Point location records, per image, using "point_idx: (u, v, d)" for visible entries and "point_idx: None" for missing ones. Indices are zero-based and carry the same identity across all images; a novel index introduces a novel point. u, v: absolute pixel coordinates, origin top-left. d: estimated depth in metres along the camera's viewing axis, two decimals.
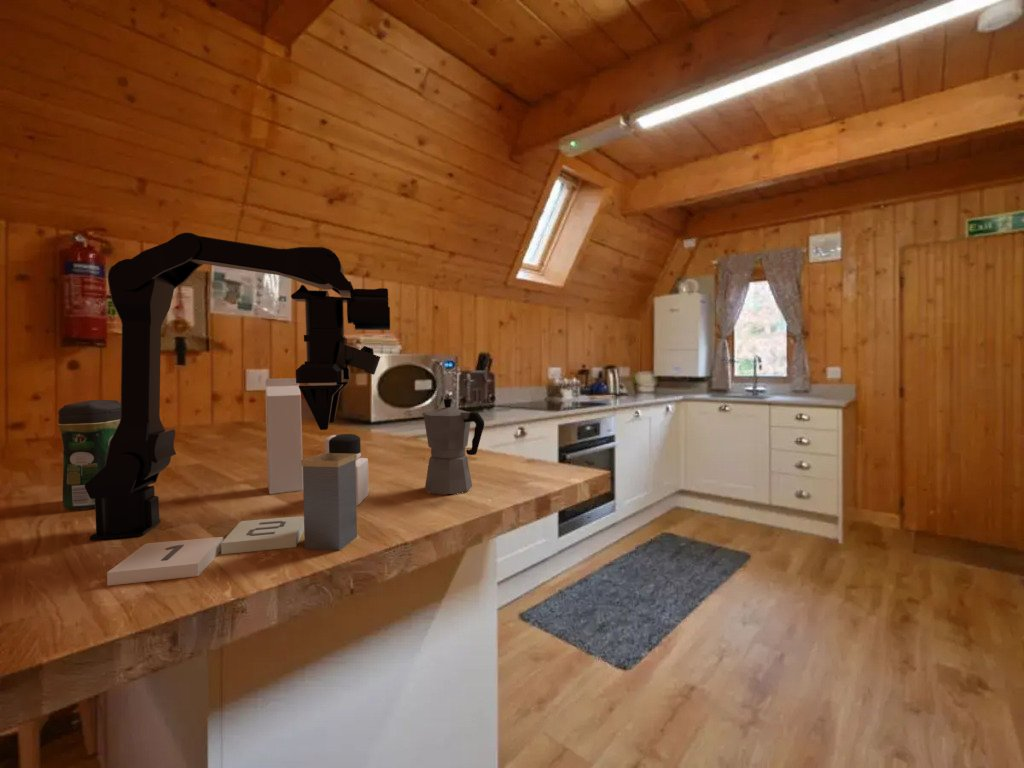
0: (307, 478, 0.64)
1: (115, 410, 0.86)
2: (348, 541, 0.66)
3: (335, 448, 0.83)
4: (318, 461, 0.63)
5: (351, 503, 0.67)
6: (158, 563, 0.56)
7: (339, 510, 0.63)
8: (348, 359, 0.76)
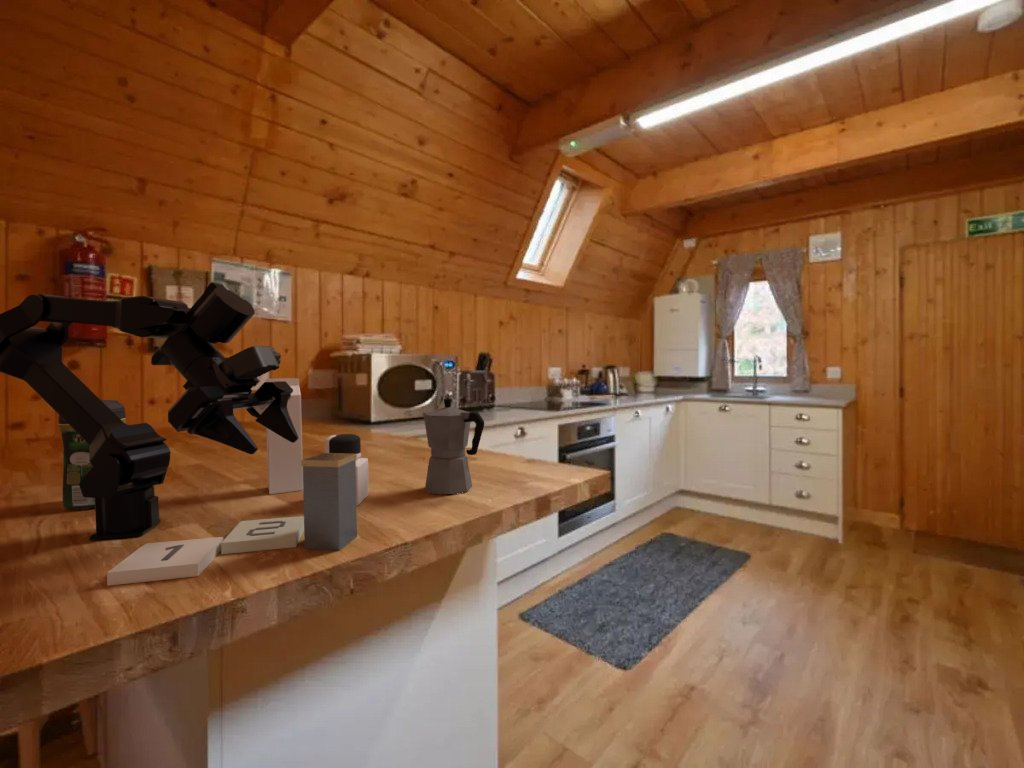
0: (307, 478, 0.64)
1: (115, 410, 0.86)
2: (348, 541, 0.66)
3: (335, 448, 0.83)
4: (318, 461, 0.63)
5: (351, 503, 0.67)
6: (158, 563, 0.56)
7: (339, 510, 0.63)
8: (229, 373, 0.65)
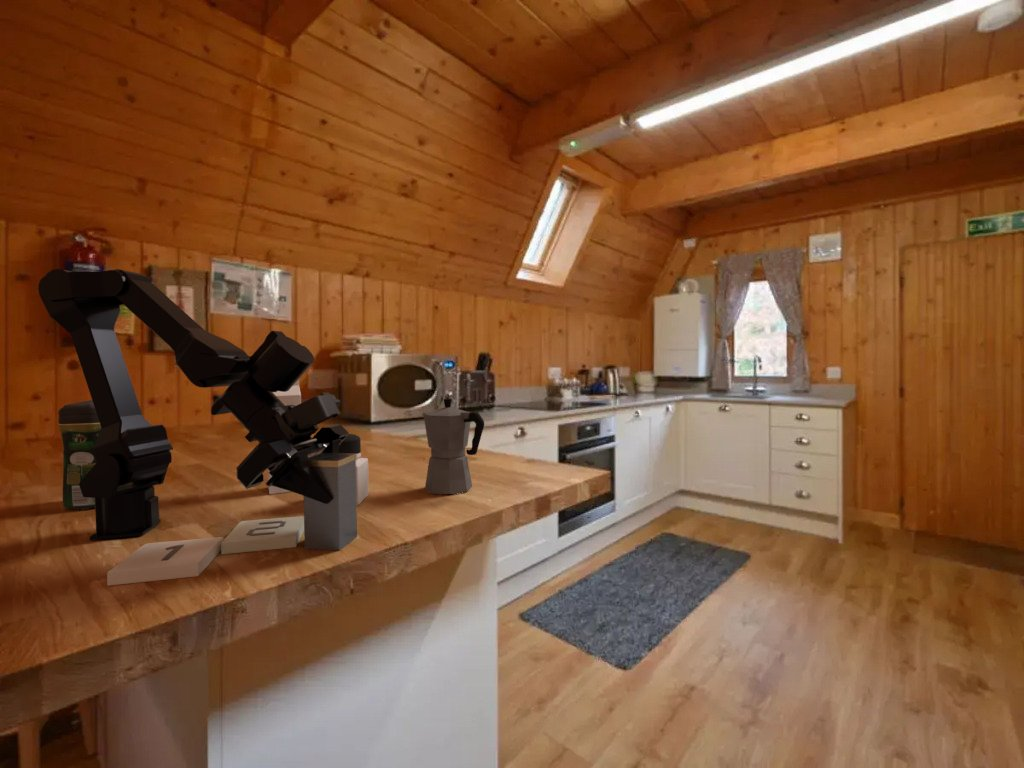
0: None
1: None
2: (348, 541, 0.66)
3: None
4: (318, 461, 0.63)
5: (351, 503, 0.67)
6: (158, 563, 0.56)
7: (339, 510, 0.63)
8: (293, 424, 0.64)
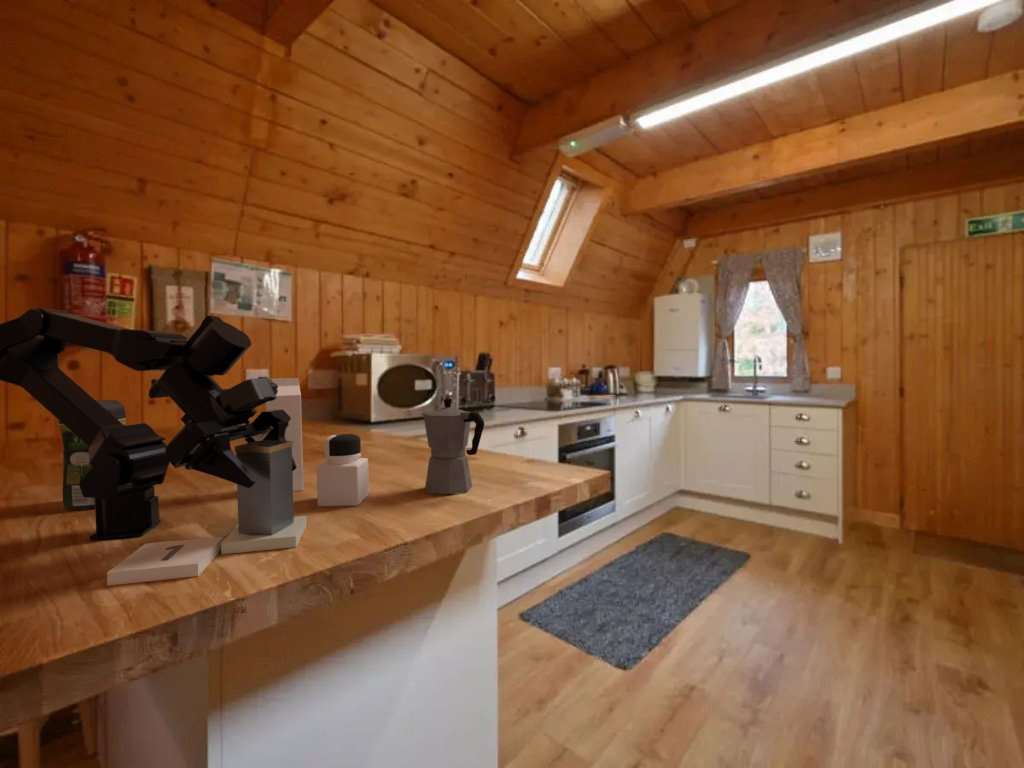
0: None
1: (115, 410, 0.86)
2: (283, 526, 0.68)
3: (335, 448, 0.83)
4: (251, 447, 0.65)
5: (286, 488, 0.68)
6: (158, 563, 0.56)
7: (271, 495, 0.65)
8: (226, 406, 0.65)
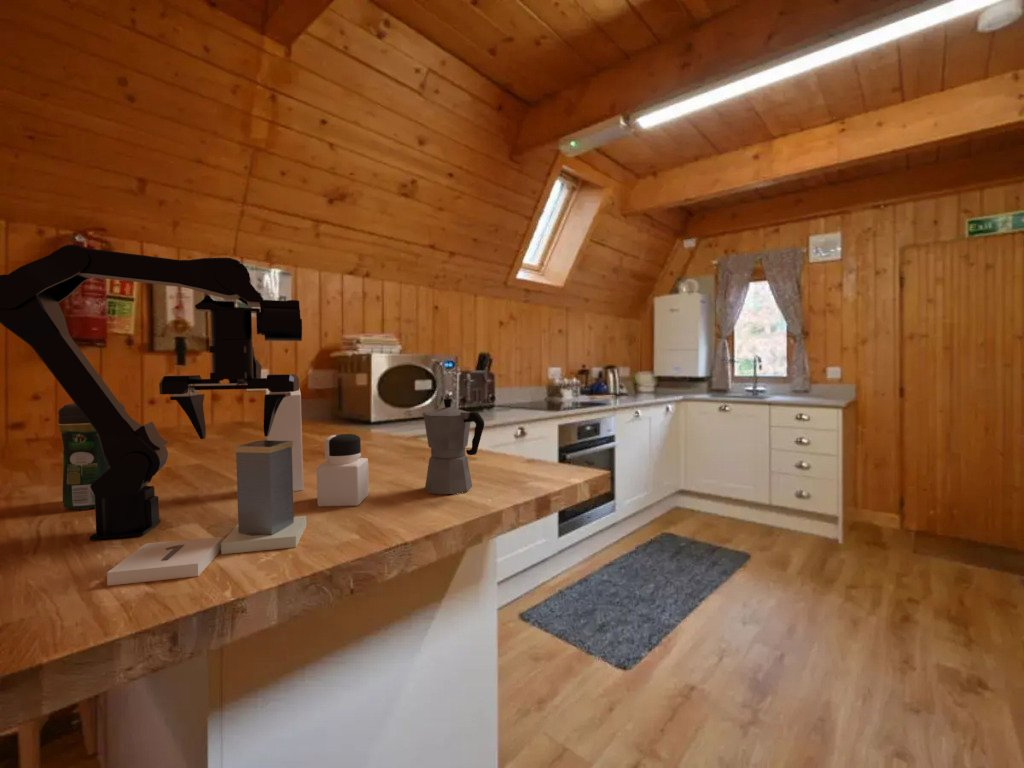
0: (240, 464, 0.65)
1: None
2: (283, 526, 0.68)
3: (335, 448, 0.83)
4: (251, 447, 0.65)
5: (286, 488, 0.68)
6: (158, 563, 0.56)
7: (271, 495, 0.65)
8: None
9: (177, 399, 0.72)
